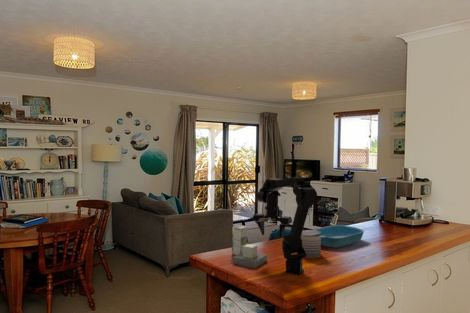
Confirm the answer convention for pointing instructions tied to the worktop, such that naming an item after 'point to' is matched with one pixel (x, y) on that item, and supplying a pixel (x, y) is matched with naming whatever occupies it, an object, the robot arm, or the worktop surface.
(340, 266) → the worktop surface
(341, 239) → the casserole dish
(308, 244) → the can
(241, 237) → the syrup box
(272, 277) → the worktop surface
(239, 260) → the plinth
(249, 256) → the cube
